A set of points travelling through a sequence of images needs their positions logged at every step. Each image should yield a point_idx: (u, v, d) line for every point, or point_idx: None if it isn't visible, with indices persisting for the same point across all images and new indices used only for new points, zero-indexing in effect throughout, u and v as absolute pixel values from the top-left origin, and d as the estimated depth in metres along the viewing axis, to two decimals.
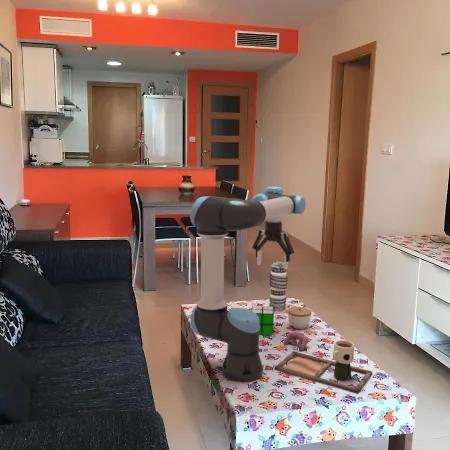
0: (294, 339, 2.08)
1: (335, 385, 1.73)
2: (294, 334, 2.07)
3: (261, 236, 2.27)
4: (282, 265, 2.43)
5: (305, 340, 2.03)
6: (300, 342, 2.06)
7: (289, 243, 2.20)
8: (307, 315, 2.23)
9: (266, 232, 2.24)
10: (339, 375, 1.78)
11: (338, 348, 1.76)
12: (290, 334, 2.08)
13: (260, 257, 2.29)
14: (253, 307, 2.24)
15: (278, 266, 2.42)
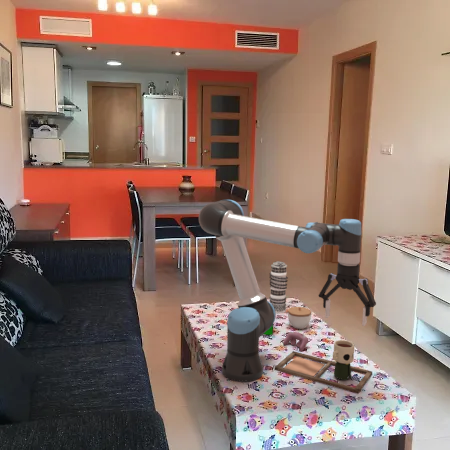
0: (293, 339, 2.07)
1: (335, 385, 1.73)
2: (293, 334, 2.06)
3: None
4: (282, 265, 2.43)
5: (304, 340, 2.03)
6: (299, 342, 2.05)
7: (370, 292, 1.70)
8: (307, 315, 2.23)
9: (338, 277, 1.75)
10: (339, 375, 1.78)
11: (338, 348, 1.76)
12: (289, 334, 2.08)
13: (329, 308, 1.80)
14: None
15: (278, 266, 2.42)
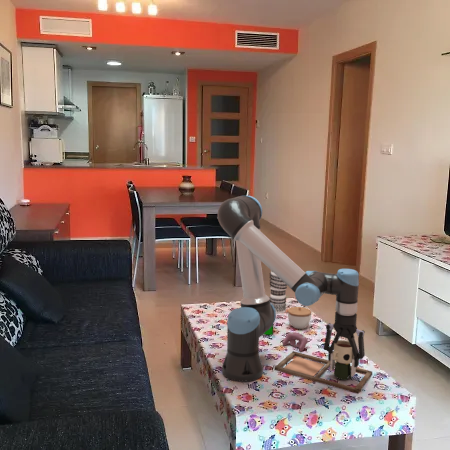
0: (293, 340, 2.07)
1: (335, 385, 1.73)
2: (293, 335, 2.06)
3: (331, 332, 1.80)
4: None
5: (304, 341, 2.03)
6: (299, 343, 2.05)
7: (362, 345, 1.74)
8: (307, 315, 2.23)
9: (336, 325, 1.78)
10: (339, 375, 1.78)
11: (338, 348, 1.76)
12: (289, 335, 2.07)
13: (334, 360, 1.81)
14: None
15: None
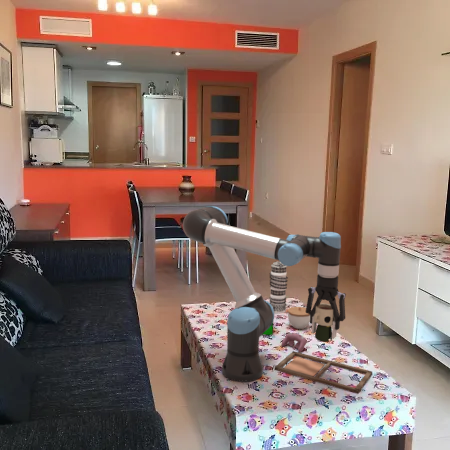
0: (292, 341, 2.06)
1: (335, 385, 1.73)
2: (292, 336, 2.05)
3: (313, 295, 1.82)
4: (282, 265, 2.43)
5: (303, 342, 2.02)
6: (298, 344, 2.04)
7: (343, 307, 1.76)
8: (307, 315, 2.23)
9: (317, 288, 1.79)
10: (320, 337, 1.79)
11: (319, 310, 1.78)
12: (288, 336, 2.06)
13: (315, 324, 1.83)
14: None
15: (278, 266, 2.42)
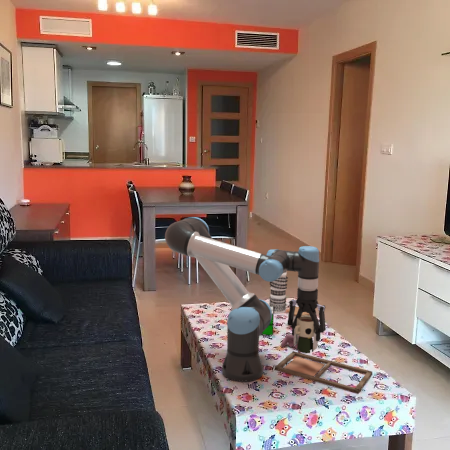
0: (291, 341, 2.06)
1: (335, 385, 1.73)
2: (291, 336, 2.05)
3: (294, 308, 1.87)
4: None
5: None
6: (297, 344, 2.04)
7: (323, 319, 1.81)
8: (307, 315, 2.23)
9: (298, 301, 1.84)
10: (302, 349, 1.84)
11: (300, 322, 1.83)
12: (287, 336, 2.06)
13: (297, 335, 1.88)
14: None
15: None
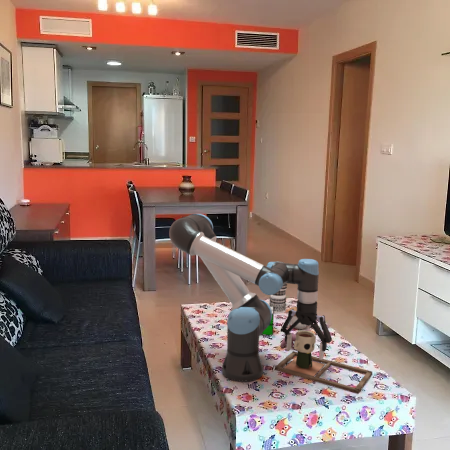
0: None
1: (335, 385, 1.73)
2: None
3: (291, 317, 1.88)
4: None
5: None
6: None
7: (326, 329, 1.81)
8: None
9: (298, 313, 1.85)
10: (300, 364, 1.85)
11: (299, 338, 1.84)
12: None
13: (290, 342, 1.90)
14: None
15: None
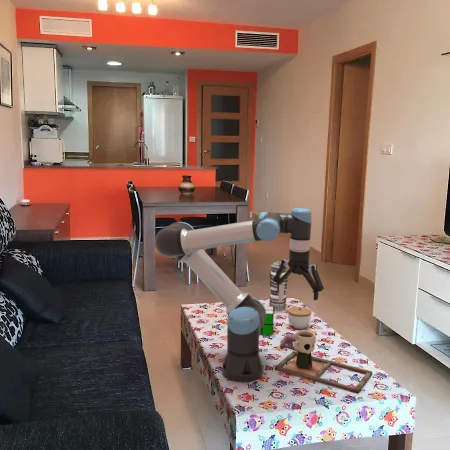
0: (290, 342, 2.05)
1: (335, 385, 1.73)
2: (290, 337, 2.04)
3: (284, 267, 1.89)
4: None
5: None
6: None
7: (318, 278, 1.81)
8: (307, 315, 2.23)
9: (290, 263, 1.86)
10: (300, 364, 1.85)
11: (299, 338, 1.84)
12: (286, 337, 2.05)
13: (282, 292, 1.91)
14: None
15: (278, 266, 2.42)
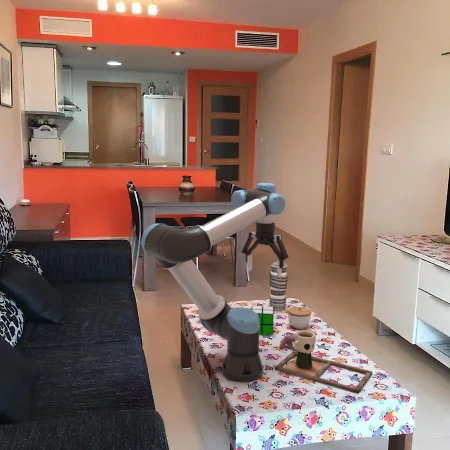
0: (290, 342, 2.05)
1: (335, 385, 1.73)
2: (290, 337, 2.03)
3: (251, 239, 2.02)
4: None
5: None
6: None
7: (283, 247, 1.95)
8: (307, 315, 2.23)
9: (257, 234, 1.99)
10: (300, 364, 1.85)
11: (299, 338, 1.84)
12: (286, 337, 2.05)
13: (250, 262, 2.04)
14: (253, 307, 2.24)
15: None
